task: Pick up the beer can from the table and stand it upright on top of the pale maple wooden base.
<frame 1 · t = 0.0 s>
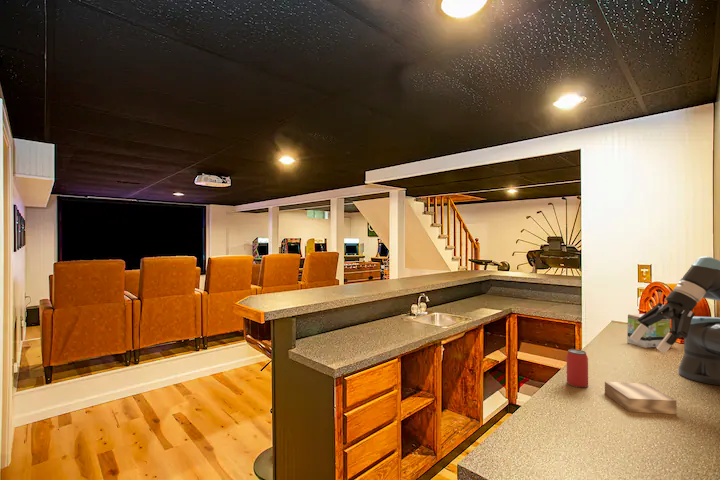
hand: (646, 345, 123), 15 cm above the counter, tool tilted 35°, fingers open, 13 cm apart
maple base: (638, 403, 112), on the counter
tea box: (648, 345, 176), on the counter
beer can: (577, 385, 127), on the counter
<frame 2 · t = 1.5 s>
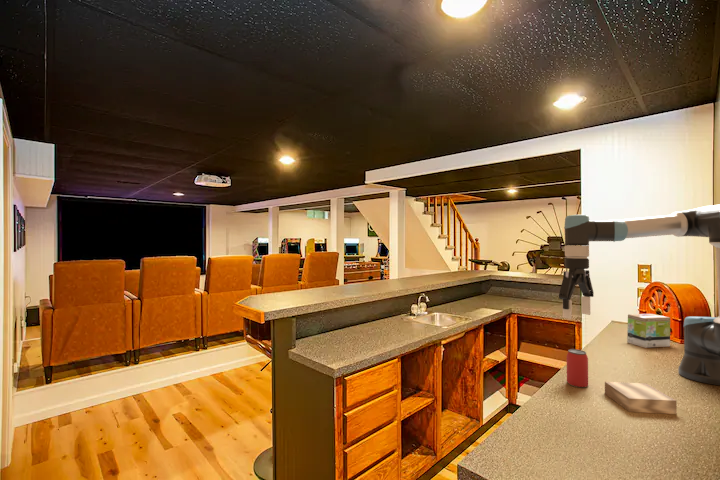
hand: (576, 316, 127), 25 cm above the counter, tool pointing down, fingers open, 13 cm apart
nothing on the counter moved.
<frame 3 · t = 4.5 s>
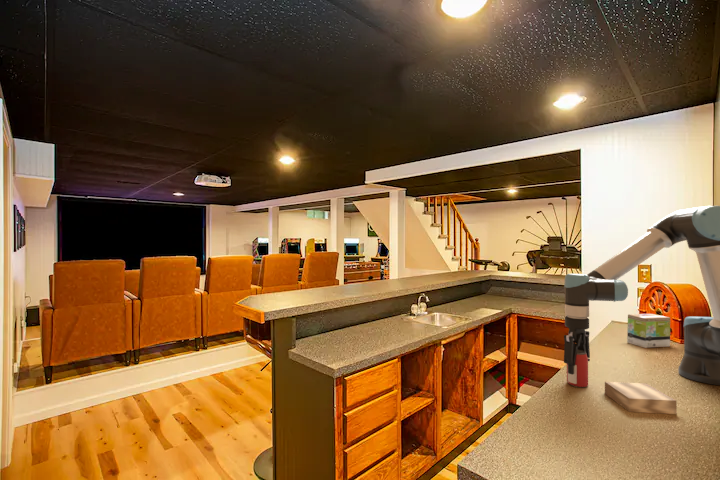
hand: (577, 380, 127), 1 cm above the counter, tool pointing down, fingers closed on beer can, 6 cm apart
beer can: (577, 385, 127), on the counter, touching gripper
everything else where it was.
when the fingers open (7 cm above the counter, at t = 10.3 s): beer can drops 1 cm, resting on maple base.
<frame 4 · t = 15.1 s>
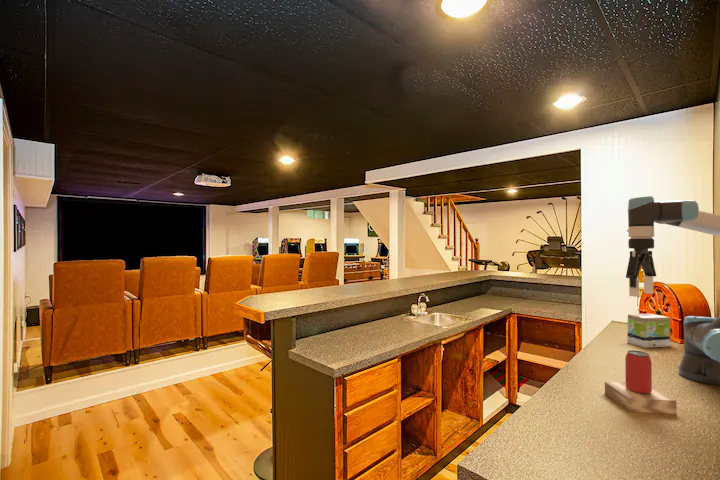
hand: (641, 294, 131), 32 cm above the counter, tool pointing down, fingers open, 13 cm apart
beer can: (638, 391, 112), point 4 cm above the counter, touching maple base
everything else where it was.
at the end: beer can 0.0 cm off-centre on the maple base, point 3.8 cm above the maple base's base; beer can tilted 0°; the gripper is holding nothing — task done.
